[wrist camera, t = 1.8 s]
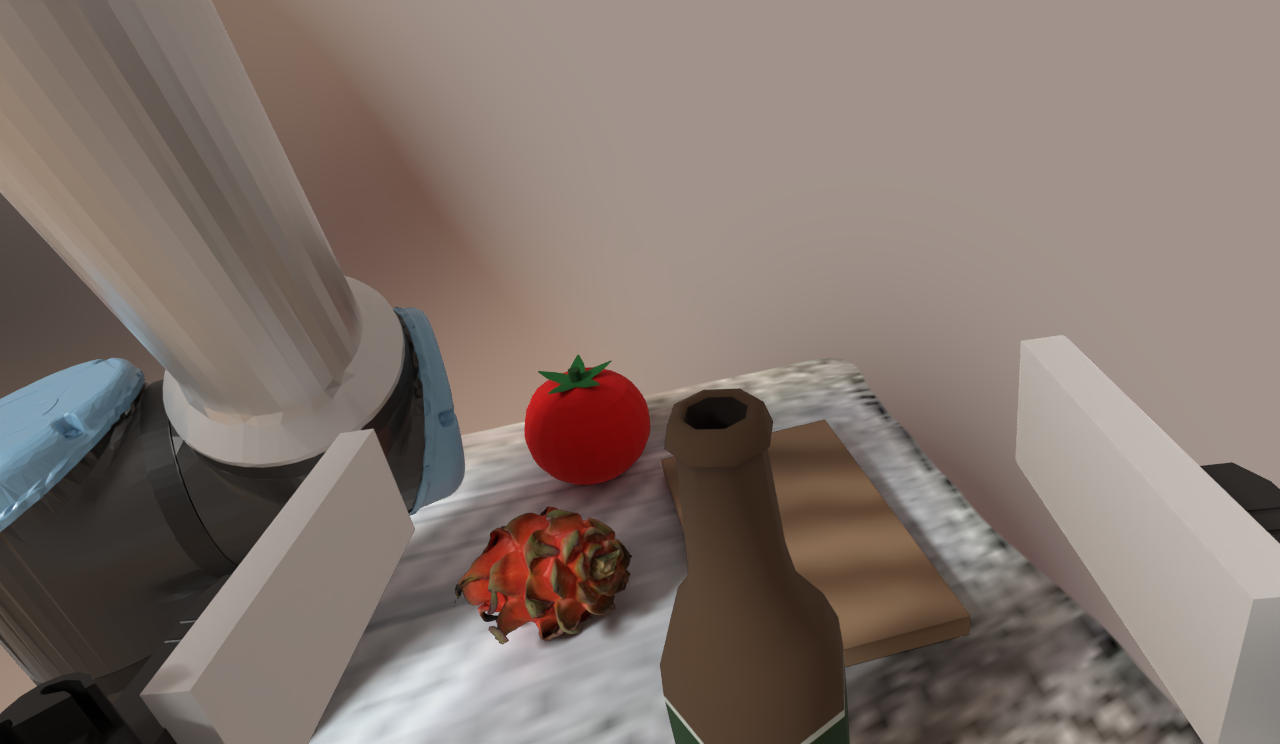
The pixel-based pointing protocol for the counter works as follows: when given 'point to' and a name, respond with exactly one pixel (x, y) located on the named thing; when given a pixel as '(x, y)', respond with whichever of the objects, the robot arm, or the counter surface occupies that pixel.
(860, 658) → the wooden cutting board
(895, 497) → the counter surface
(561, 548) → the dragon fruit
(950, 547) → the counter surface
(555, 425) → the tomato
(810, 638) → the beer bottle
